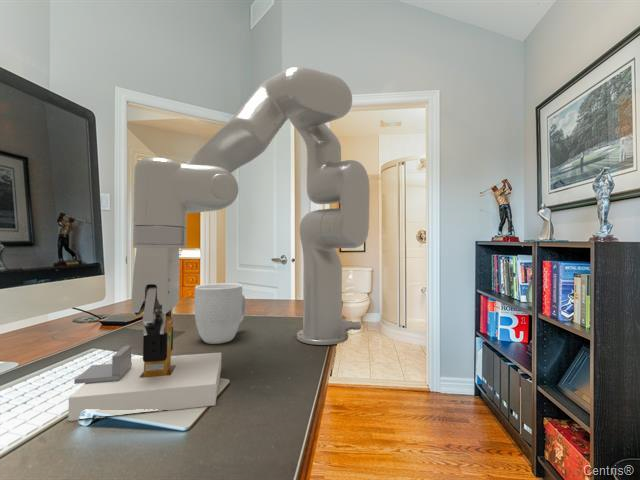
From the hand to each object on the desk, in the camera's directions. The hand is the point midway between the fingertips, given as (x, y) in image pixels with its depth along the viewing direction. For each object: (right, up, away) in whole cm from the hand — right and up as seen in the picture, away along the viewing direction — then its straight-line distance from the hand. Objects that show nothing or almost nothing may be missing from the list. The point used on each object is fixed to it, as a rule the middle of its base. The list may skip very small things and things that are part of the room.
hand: (158, 355), depth 50 cm
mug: (+1, -6, +28) cm, 29 cm away
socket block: (0, -5, 0) cm, 5 cm away
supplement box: (0, -4, 0) cm, 4 cm away
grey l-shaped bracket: (-7, -2, -2) cm, 8 cm away
